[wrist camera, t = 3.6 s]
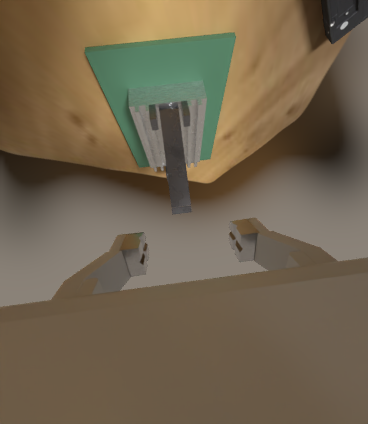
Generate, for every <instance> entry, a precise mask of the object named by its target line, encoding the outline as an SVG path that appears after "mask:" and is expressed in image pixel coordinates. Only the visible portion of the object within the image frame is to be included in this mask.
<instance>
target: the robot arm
mask: <svg viewBox="0 0 368 424" xmlns="http://www.w3.org/2000/svg"><path fill="white" fill-rule="evenodd" d="M229 228H230V230H231V232H230V233H229V241H230V245H231V247H232V249H233V250H235V255H236V257H237V259H238V260H239V262H244V261H253V260H254V261H255V262H257V263H258V264H259V265H261V266H263V267H264V268H265V269H267V270H268V271H263V272H256V273H249V274H241V275H234V276H227V277H219V278H212V279H204V280H196V281H189V282H182V283H174V284H166V285H159V286H152V287H144V288H137V289H129V290H123V291H120V290H121V289H122V287H123V286H124V285H125V284H126V283H127V281H128V280H129V279H130V277H132V276H139V275H145V274H146V271H147V261H148V259H149V249H148V245H147V244H146V243H145V241H146V236H145V233H144V232H140V233H131V234H122V235H118V236H117V237H116V239H115V241H114V243H113V245H112V247H111V249H110V250H109V252H106V253H104V254H103V255H102V256H100V257H99V258H97V259H96V260H94V261H93V262H91V263H90V264H89V265H87V266H86V267H84V268H83V269H81V270H80V271H78V272H77V273H76V274H74V275H73V276H71V277H70V278H68V279H67V280H65V281H64V282H63V284H62V285H61V287H60V288H59V289H58V291H57V292H56V294H55V295H54V296H53V298H52V299H51V300H48V301H40V302H33V303H26V304H18V305H10V306H3V307H0V424H368V257H367V258H360V259H353V260H345V261H337V260H336V259H335V258H333V257H332V256H331V255H329V254H328V253H327V252H325V251H324V250H323V249H321V248H320V247H317V246H314V245H311V244H308V243H305V242H303V241H300V240H297V239H294V238H291V237H288V236H285V235H282V234H279V233H277V232H274V231H269V230H268V229H267V228H266V227H265V226H264V225H263V224H262V223H261V222H260V221H259V220H257V218H249V219H243V220H236V221H230V223H229Z"/></svg>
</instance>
